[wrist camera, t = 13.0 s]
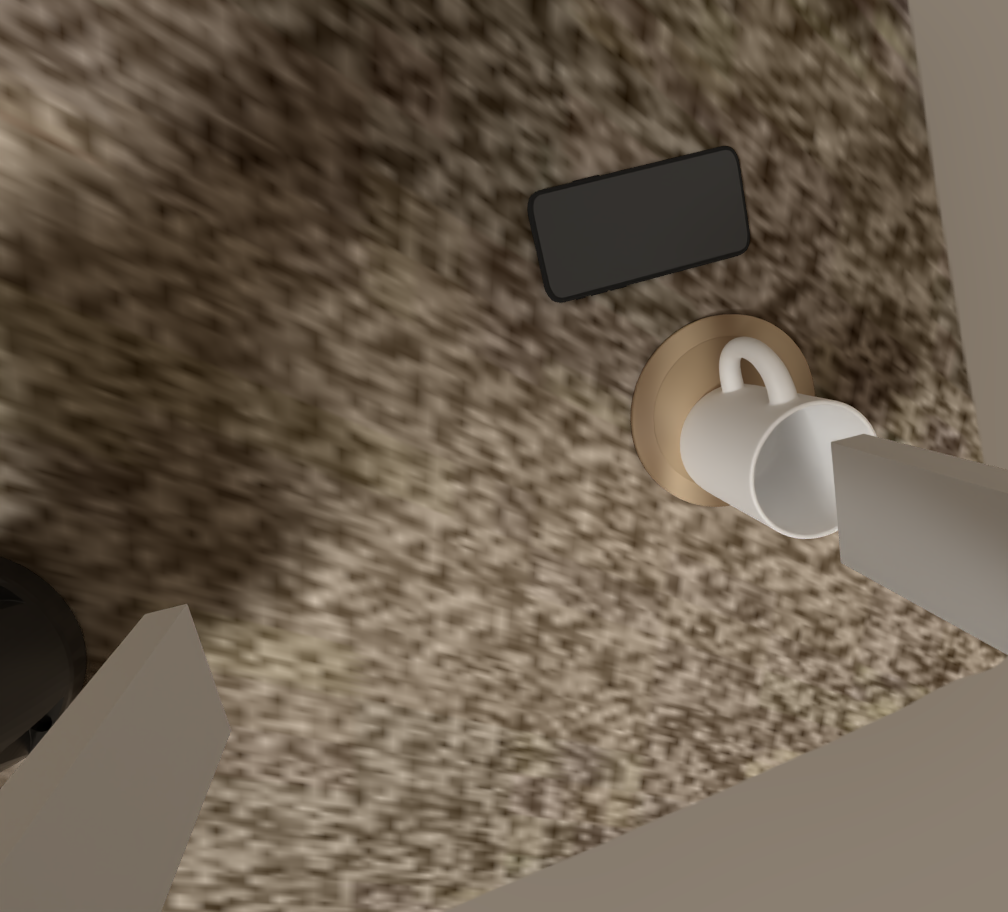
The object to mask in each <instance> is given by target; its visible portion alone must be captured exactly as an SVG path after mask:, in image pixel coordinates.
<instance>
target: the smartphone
mask: <svg viewBox="0 0 1008 912" xmlns="http://www.w3.org/2000/svg"><path fill="white" fill-rule="evenodd" d="M528 216H529V221H530V225H531V229H532V234H533V238H534V243H535V247H536V251H537V256H538V260H539V265H540V269H541V274H542V278H543V283H544V288H545V290H546V293H547V295H548V296H549V297H550V298H551V300H553V301H555V302H559V303H561V302H566V301H570V300H574V299H577V300H578V299H581V298H585V296H589V295H591V296H593V295H596V294H600V293H604V292H607V291H608V290H615V289H619V288H623V287H626V286H627V285H630V284H634V283H638V282H642V281H645V280H649V279H653V278H657V277H660V276H664V275H668V274H671V273H675V272H679V271H683V270H686V269H690V268H694V267H698V266H701V265H705V264H709V263H712V262H716V261H720V260H724V259H727V258H731V257H735V256H738V255H740V254H742V253H744V252H745V251H746V250H747V248H748V246H749V242H750V231H749V225H748V218H747V211H746V204H745V197H744V191H743V184H742V177H741V171H740V164H739V159H738V156H737V154H736V152H735V151H734V150H733V149H732V148H731V147H728V146H721V147H717V148H713V149H708V150H704V151H700V152H696V153H692V154H688V155H684V156H679V157H675V158H671V159H667V160H663V161H659V162H655V163H650V164H646V165H642V166H638V167H634V168H630V169H626V170H621V171H617V172H613V173H609V174H605V175H601V176H599V175H597V176H592V177H588V178H584V179H580V180H576V181H573V182H572V183H568V184H564V185H560V186H556V187H551V188H547V189H543V190H539V191H537V192H535V193H534V194H532V195H531V197H530V198H529V202H528Z"/></svg>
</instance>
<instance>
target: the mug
mask: <svg viewBox="0 0 1008 912" xmlns="http://www.w3.org/2000/svg"><path fill="white" fill-rule="evenodd" d="M741 358H744V359H746V360H748V361H749V362H751V363H752V364H753V365H754V367H755V368H756V369H757V370H758V372H759V374H760V375H761V377H762V379H763V381H764V384H765V386H766V387H763V386H758V385H750V384H744V382H743V379H742V374H741V368H740V361H741ZM719 376H720V382H721V387H719V388H717V389H714V390H713V391H711V392H709V393H708V394H706V395H705V396H704V397H702V398H701V399H700V400H699V401H698V402H697V403H696V404H695V405H694V407H693V408H692V409H691V411H690V412H689V414H688V415H687V417H686V420H685V422H684V424H683V427H682V431H681V436H680V453H681V459H682V462H683V465H684V467H685V469H686V471H687V473H688V474H689V476H690V477H691V478H692V479H693V480H694V481H695V483H696V484H698V485H699V486H700V487H701V488H702V489H704V490H705V491H707V492H709V493H710V494H712V495H714V496H715V497H717V498H719V499H721V500H722V501H724V502H726V503H728V504H730V505H731V506H733V507H735V508H737V509H738V510H740V511H742V512H744V513H745V514H747V515H749V516H751V517H752V518H754V519H756V520H758V521H760V522H761V523H763V524H765V525H767V526H768V527H770V528H772V529H774V530H775V531H777V532H779V533H781V534H784V535H786V536H789V537H793V538H800V539H813V538H819V537H823V536H826V535H829V534H832V533H834V532H836V531H838V522H837V510H836V498H835V487H834V475H833V463H832V452H831V442H833V441H837V440H841V439H845V438H849V437H853V436H857V435H861V434H867V435H871V436H875V437H877V435H876V433H875V431H874V429H873V427H872V425H871V424H870V422H869V421H868V420H867V419H866V417H865V416H863V415H862V414H861V413H860V412H859V411H858V410H856V409H855V408H853V407H852V406H850V405H848V404H846V403H842V402H839V401H835V400H830V399H825V398H820V397H815V396H809V395H804V394H799V393H797V391H796V388H795V385H794V383H793V380H792V378H791V376H790V374H789V372H788V370H787V368H786V366H785V365H784V363H783V362H782V360H781V359H780V358H779V356H778V355H777V354H776V353H775V352H774V351H773V350H772V349H771V348H770V347H769V346H767V345H766V344H765V343H763V342H761V341H760V340H757V339H755V338H751V337H737V338H735V339H732V340H731V341H729V342H728V343H727V344H726V345H725V347H724V348H723V350H722V352H721V355H720V360H719Z"/></svg>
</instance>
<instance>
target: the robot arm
mask: <svg viewBox="0 0 1008 912" xmlns="http://www.w3.org/2000/svg"><path fill="white" fill-rule="evenodd" d="M831 452H832V463H833V475H834V487H835V498H836V510H837V522H838V533H839V545H840V557H841V563H842V564H844V565H846V566H848V567H850V568H851V569H853V570H855V571H857V572H859V573H860V574H862V575H864V576H866V577H868V578H869V579H871V580H873V581H875V582H877V583H878V584H880V585H882V586H884V587H886V588H887V589H889V590H891V591H893V592H895V593H897V594H898V595H900V596H902V597H904V598H906V599H907V600H909V601H911V602H913V603H915V604H916V605H918V606H920V607H922V608H924V609H925V610H927V611H929V612H931V613H933V614H934V615H936V616H938V617H940V618H942V619H944V620H945V621H947V622H949V623H951V624H953V625H954V626H956V627H958V628H960V629H962V630H963V631H965V632H967V633H969V634H971V635H972V636H974V637H976V638H978V639H980V640H982V641H983V642H985V643H987V644H989V645H991V646H992V647H994V648H996V649H998V650H1000V651H1001V652H1003V653H1005V654H1007V655H1008V470H1006V469H1002V468H998V467H994V466H990V465H986V464H982V463H978V462H974V461H970V460H966V459H962V458H958V457H955V456H951V455H947V454H943V453H939V452H935V451H931V450H927V449H923V448H919V447H915V446H911V445H907V444H903V443H899V442H895V441H891V440H887V439H883V438H879V437H875V436H871V435H867V434H861V435H857V436H853V437H849V438H845V439H841V440H837V441H833V442H831ZM85 673H86V649H85V643H84V639H83V635H82V632H81V630H80V627H79V625H78V622H77V620H76V618H75V616H74V615H73V613H72V611H71V610H70V608H69V607H68V605H67V604H66V603H65V601H64V600H63V599H62V598H61V596H60V595H59V594H58V593H57V592H56V591H55V590H54V589H53V588H52V587H51V586H50V585H49V584H47V583H46V582H45V581H44V580H43V579H41V578H40V577H38V576H37V575H36V574H34V573H33V572H31V571H29V570H28V569H26V568H24V567H22V566H21V565H19V564H17V563H15V562H12V561H10V560H8V559H5V558H3V557H0V772H2V771H4V770H5V769H7V768H9V767H11V766H13V765H14V764H16V763H18V762H19V761H21V760H23V759H24V758H26V759H25V760H24V761H23V762H22V763H21V765H20V766H19V767H18V768H17V769H16V771H15V772H14V773H13V774H12V775H11V777H10V778H9V779H8V780H7V782H6V783H5V784H4V785H3V786H2V788H0V912H161V910H162V908H163V905H164V903H165V900H166V897H167V895H168V892H169V890H170V887H171V885H172V882H173V879H174V877H175V874H176V872H177V869H178V867H179V864H180V861H181V859H182V856H183V854H184V851H185V848H186V846H187V843H188V841H189V838H190V836H191V833H192V830H193V828H194V825H195V823H196V820H197V817H198V815H199V812H200V810H201V807H202V805H203V802H204V799H205V797H206V794H207V792H208V789H209V787H210V784H211V781H212V779H213V776H214V774H215V771H216V768H217V766H218V763H219V761H220V758H221V756H222V753H223V750H224V748H225V745H226V743H227V740H228V738H229V735H230V732H231V728H230V725H229V722H228V719H227V716H226V713H225V711H224V708H223V705H222V702H221V699H220V696H219V693H218V691H217V688H216V685H215V682H214V679H213V676H212V673H211V670H210V668H209V665H208V662H207V659H206V656H205V653H204V650H203V647H202V645H201V642H200V639H199V636H198V633H197V630H196V627H195V625H194V622H193V619H192V616H191V613H190V610H189V607H188V604H184V605H180V606H176V607H172V608H168V609H164V610H160V611H156V612H152V613H148V614H145V615H144V616H143V617H142V618H141V619H140V621H139V622H138V623H137V624H136V625H135V627H134V628H133V629H132V630H131V632H130V633H129V634H128V635H127V636H126V638H125V639H124V640H123V641H122V642H121V644H120V645H119V646H118V647H117V648H116V650H115V651H114V652H113V653H112V655H111V656H110V657H109V658H108V659H107V661H106V662H105V663H104V664H103V665H102V667H101V668H100V669H99V670H98V671H97V673H96V674H95V675H94V676H93V677H92V679H91V680H90V681H89V682H88V684H87V685H86V686H85V687H84V688H83V690H82V691H81V689H82V686H83V683H84V678H85Z"/></svg>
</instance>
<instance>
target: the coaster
mask: <svg viewBox="0 0 1008 912" xmlns="http://www.w3.org/2000/svg"><path fill="white" fill-rule="evenodd" d="M737 337H751V338H755V339H757V340H760V341H761V342H763V343H765V344H766V345H767V346H769V347H770V348H771V349H772V350H773V351H774V352H775V353H776V354H777V355H778V356H779V358H780V359H781V360H782V362H783V363H784V365H785V366H786V368H787V370H788V372H789V374H790V376H791V378H792V380H793V383H794V385H795V388H796V391H797V393H799V394H804V395H809V396H815V390H814V383H813V378H812V375H811V371H810V368H809V366H808V364H807V361H806V359H805V357H804V355H803V354H802V352H801V351H800V349H799V347H798V346H797V345H796V344H795V343H794V341H793V340H792V339H791V338H790V337H789V336H788V335H787V334H786V333H784V332H783V331H782V330H781V329H779V328H778V327H776V326H775V325H773V324H771V323H769V322H767V321H765V320H762V319H759V318H756V317H752V316H747V315H740V314H722V315H715V316H709V317H706V318H702V319H699V320H696V321H694V322H692V323H690V324H688V325H686V326H684V327H682V328H681V329H679V330H678V331H676V332H675V333H673V334H672V335H671V336H670V337H668V338H667V339H666V340H665V341H664V342H663V343H662V344H661V345H660V346H659V347H658V348H657V349H656V350H655V352H654V353H653V354H652V356H651V357H650V358H649V360H648V361H647V363H646V365H645V366H644V368H643V370H642V372H641V374H640V376H639V379H638V381H637V384H636V387H635V390H634V394H633V398H632V405H631V419H630V422H631V433H632V438H633V442H634V446H635V449H636V452H637V454H638V457H639V459H640V461H641V463H642V464H643V466H644V468H645V469H646V471H647V472H648V473H649V475H650V476H651V477H652V478H653V479H654V480H655V481H656V482H657V483H658V484H659V485H660V486H661V487H662V488H664V489H665V490H666V491H668V492H669V493H671V494H672V495H674V496H676V497H678V498H680V499H682V500H684V501H687V502H690V503H692V504H697V505H701V506H711V507H719V506H729V505H730V504H728V503H726V502H724V501H722V500H721V499H719V498H717V497H715V496H714V495H712V494H710V493H709V492H707V491H705V490H704V489H702V488H701V487H700V486H699V485H698V484H696V483H695V481H694V480H693V479H692V478H691V477H690V476H689V474H688V473H687V471H686V469H685V467H684V465H683V462H682V459H681V453H680V436H681V431H682V427H683V424H684V422H685V420H686V417H687V415H688V414H689V412H690V411H691V409H692V408H693V407H694V405H695V404H696V403H697V402H698V401H699V400H700V399H701V398H702V397H704V396H705V395H706V394H708V393H709V392H711V391H713V390H714V389H717V388H719V387H721V382H720V376H719V360H720V355H721V352H722V350H723V348H724V347H725V345H726V344H727V343H728V342H729V341H731V340H732V339H735V338H737ZM740 368H741V374H742V379H743V382H744V384H750V385H758V386H763V387H766V386H765V384H764V381H763V379H762V377H761V375H760V374H759V372H758V370H757V369H756V368H755V367H754V365H753V364H752V363H751V362H749V361H748V360H746V359H744V358H741V361H740Z"/></svg>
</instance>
